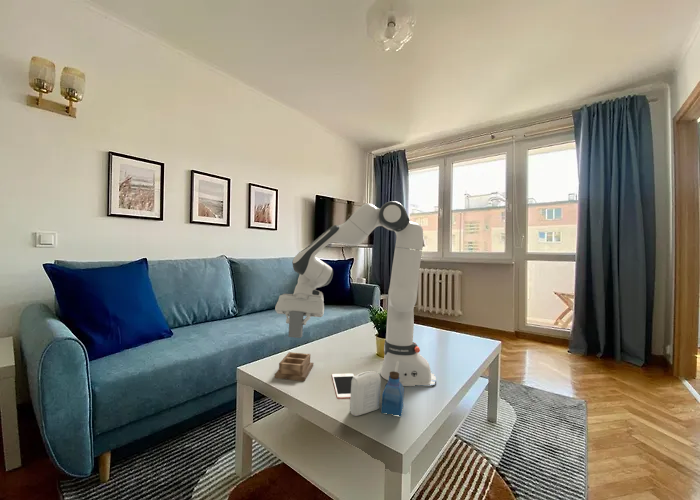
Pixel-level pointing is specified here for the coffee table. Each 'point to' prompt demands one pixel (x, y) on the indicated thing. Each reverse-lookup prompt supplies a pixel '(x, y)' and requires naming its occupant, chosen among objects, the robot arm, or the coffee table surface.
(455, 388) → the coffee table surface
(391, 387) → the perfume bottle
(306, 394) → the coffee table surface
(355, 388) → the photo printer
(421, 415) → the coffee table surface
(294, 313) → the charcoal card
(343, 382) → the cell phone
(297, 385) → the coffee table surface
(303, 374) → the box
